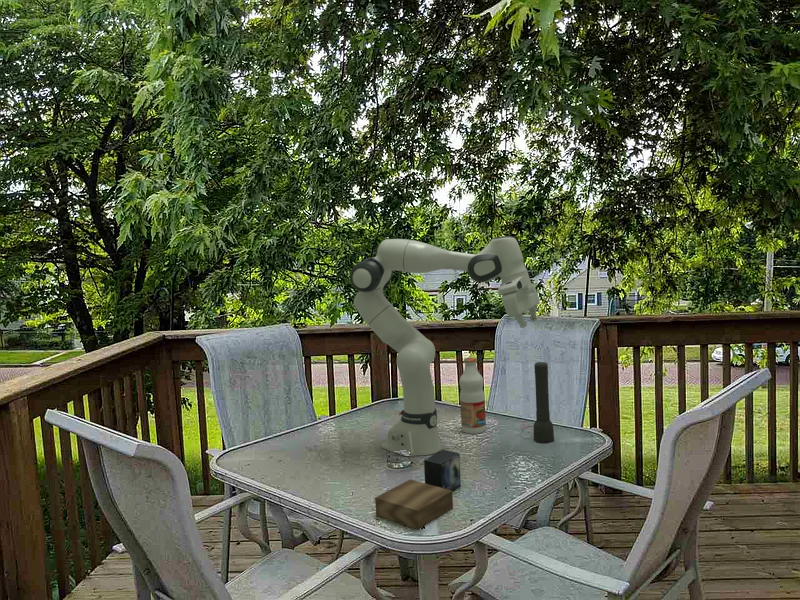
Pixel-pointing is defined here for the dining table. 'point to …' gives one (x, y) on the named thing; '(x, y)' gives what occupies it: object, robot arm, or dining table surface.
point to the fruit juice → (472, 399)
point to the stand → (414, 503)
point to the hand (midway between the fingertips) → (529, 323)
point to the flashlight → (542, 406)
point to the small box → (443, 470)
